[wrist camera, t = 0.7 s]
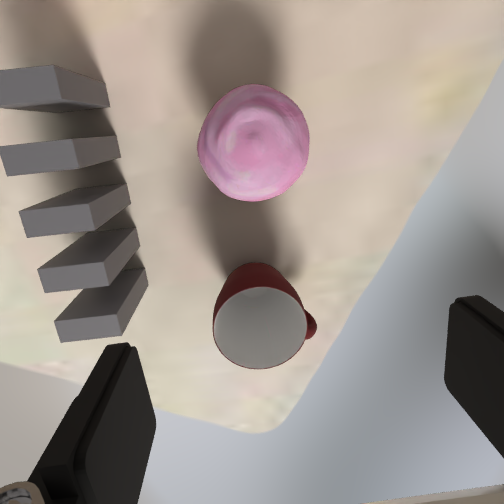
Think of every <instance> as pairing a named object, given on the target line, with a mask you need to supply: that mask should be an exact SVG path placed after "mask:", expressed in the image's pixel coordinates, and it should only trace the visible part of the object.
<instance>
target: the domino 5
mask: <svg viewBox="0 0 504 504" xmlns="http://www.w3.org/2000/svg"><path fill="white" fill-rule="evenodd" d="M147 287H148V280H147V276H146V271H145V268H141V269H132V270H123V271H120V273H119V274H118V275H117V276H116V278H115V279H114V280H113V282H112V283H111V284H110V285H109V286H103V287H94V288H85V289H83V290H82V291H81V292H80V293H79V294H78V296H77V297H76V298H75V299H74V300H73V301H72V302H71V303H70V304H69V305H68V307H67V308H66V309H65V310H64V311H63V312H62V313H61V314H60V315H59V316H58V317H57V319H56V320H55V321H54V323H55V326H56V329H57V333H58V336H59V339H60V342H61V343H63V342H71V341H80V340H89V339H97V338H106V337H115V336H122V334H123V332H124V331H125V329H126V327H127V325H128V323H129V321H130V319H131V317H132V315H133V313H134V312H135V310H136V308H137V306H138V304H139V302H140V300H141V298H142V296H143V295H144V293H145V291H146V289H147Z"/></svg>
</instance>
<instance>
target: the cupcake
mask: <svg viewBox="0 0 504 504" xmlns="http://www.w3.org/2000/svg"><path fill="white" fill-rule="evenodd" d="M197 151H198V157H199V160H200V163H201V165H202V168H203V170H204V171H205V173H206V174H207V176H208V178H209V179H210V180H211V181H212V182H213V183H214V184H215V185H216V186H217V187H218V188H219V190H220V191H221V192H223V193H224V194H225V195H227V196H229V197H231V198H234V199H237V200H242V201H262V200H266V199H270V198H273V197H275V196H278V195H280V194H282V193H283V192H285V191H286V190H287V189H288V188H289V187H290V186H291V185H292V184H293V183H294V182H295V181H296V180H297V179H298V178H299V177H300V175H301V174H302V172H303V171H304V169H305V166H306V164H307V160H308V153H309V130H308V126H307V123H306V120H305V118H304V115H303V113H302V111H301V110H300V109H299V107H298V106H297V105H296V104H295V103H294V102H293V101H292V100H291V99H290V98H289V97H287V96H286V95H284V94H283V93H281V92H279V91H277V90H275V89H272V88H270V87H268V86H265V85H259V84H249V85H243V86H240V87H237V88H235V89H233V90H231V91H230V92H228V93H227V94H226V95H225V96H223V97H222V98H221V99H220V100H219V101H218V102H217V103H216V104H215V105H214V107H213V108H212V109H211V111H210V112H209V113H208V115H207V117H206V119H205V121H204V123H203V126H202V128H201V131H200V134H199V138H198V144H197Z"/></svg>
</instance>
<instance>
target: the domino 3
mask: <svg viewBox="0 0 504 504" xmlns="http://www.w3.org/2000/svg"><path fill="white" fill-rule="evenodd" d="M130 204H131V201H130V197H129V192H128V187H127V184H117V185H108V186H99V187H90V188H80V189H74V190H72V191H69V192H67V193H64V194H62V195H59V196H56V197H54V198H51V199H49V200H46V201H44V202H41V203H39V204H36V205H33V206H31V207H28V208H26V209H23V210H21V211H19V214H20V217H21V220H22V224H23V227H24V230H25V233H26V236H27V238H30V237H39V236H48V235H57V234H66V233H75V232H84V231H94V230H96V229H98V228H99V227H100V226H102V225H103V224H104V223H106V222H107V221H108V220H110V219H111V218H112V217H114V216H115V215H116V214H118V213H119V212H120V211H122V210H123V209H124V208H126V207H127V206H128V205H130Z"/></svg>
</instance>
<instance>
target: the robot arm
mask: <svg viewBox="0 0 504 504" xmlns="http://www.w3.org/2000/svg"><path fill="white" fill-rule="evenodd" d="M444 380H445V384H446V386H447V389H448V390H449V391H450V393H451V394H452V395H453V396H454V398H455V399H456V400H457V401H458V403H459V404H460V405H461V406H462V408H463V409H464V410H465V411H466V412H467V414H468V415H469V416H470V417H471V419H472V420H473V421H474V422H475V424H476V425H477V426H478V427H479V428H480V430H481V431H482V432H483V433H484V435H485V436H486V437H487V438H488V439H489V441H490V442H491V443H492V444H493V446H494V447H495V448H496V449H497V450H498V452H499V453H500V454H501V455H502V457H503V458H504V312H503V311H501V310H500V309H498V308H497V307H496V306H494V305H493V304H491V303H490V302H488V301H487V300H486V299H484V298H483V297H481V296H478V295H475V296H467V297H460V298H457V299H456V300H455V302H454V303H453V304H451V305H450V308H449V321H448V334H447V348H446V360H445V373H444ZM155 430H156V418H155V414H154V410H153V406H152V403H151V399H150V395H149V392H148V388H147V384H146V381H145V377H144V373H143V370H142V366H141V362H140V359H139V355H138V351H137V349H136V347H135V346H133V347H131V346H130V344H129V343H127V342H125V343H118V344H111V345H107V346H106V347H105V349H104V351H103V353H102V354H101V356H100V358H99V360H98V361H97V363H96V365H95V367H94V369H93V370H92V372H91V374H90V376H89V377H88V379H87V381H86V383H85V385H84V386H83V388H82V390H81V392H80V394H79V395H78V396H77V397H76V398H75V399H74V401H73V402H72V404H71V406H70V407H69V409H68V411H67V412H66V414H65V416H64V418H63V419H62V421H61V423H60V425H59V426H58V428H57V430H56V432H55V433H54V435H53V437H52V439H51V440H50V442H49V444H48V446H47V447H46V449H45V451H44V453H43V454H42V456H41V458H40V460H39V461H38V463H37V465H36V467H35V468H34V470H33V472H32V474H31V475H30V477H29V479H28V481H24V482H15V483H12V484H9V485H6V486H4V487H2V488H0V504H137V503H138V499H139V495H140V491H141V487H142V483H143V479H144V475H145V471H146V467H147V463H148V459H149V454H150V451H151V447H152V443H153V439H154V435H155ZM363 504H504V484H502V485H495V486H488V487H480V488H472V489H465V490H457V491H450V492H442V493H435V494H428V495H421V496H414V497H406V498H399V499H392V500H385V501H377V502H370V503H363Z"/></svg>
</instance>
